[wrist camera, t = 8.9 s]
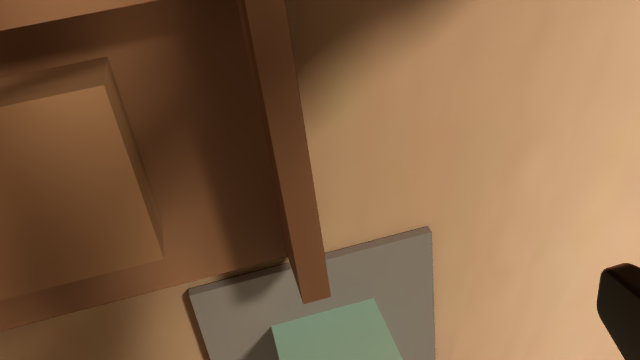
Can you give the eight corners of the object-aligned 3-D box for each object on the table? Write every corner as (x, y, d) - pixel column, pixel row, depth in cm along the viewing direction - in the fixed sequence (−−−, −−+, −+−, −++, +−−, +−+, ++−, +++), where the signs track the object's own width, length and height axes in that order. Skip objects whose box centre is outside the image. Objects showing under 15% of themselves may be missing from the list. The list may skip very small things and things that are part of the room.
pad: (427, 226, 25) (431, 231, 25) (433, 382, 31) (436, 388, 30) (188, 289, 24) (189, 295, 24) (238, 440, 29) (239, 448, 29)
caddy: (251, -88, 17) (274, -67, 15) (308, 237, 24) (331, 296, 21) (-373, 23, 15) (-493, 75, 12) (-124, 348, 22) (-164, 431, 19)
